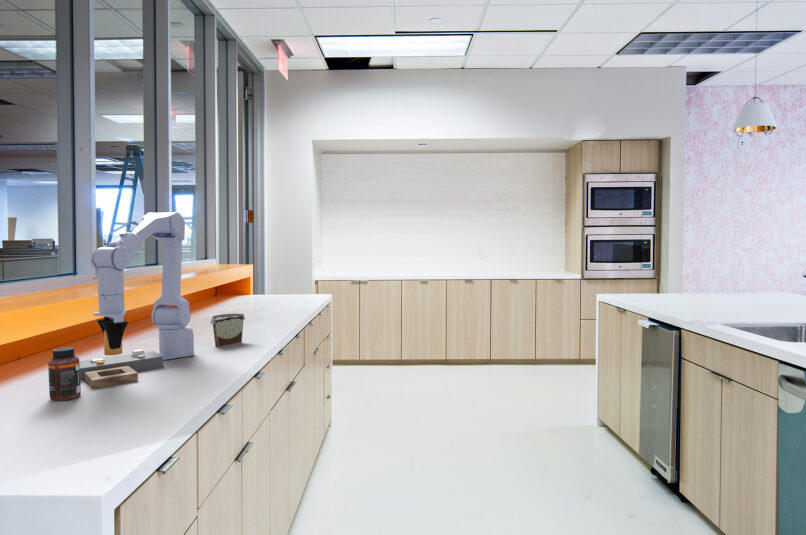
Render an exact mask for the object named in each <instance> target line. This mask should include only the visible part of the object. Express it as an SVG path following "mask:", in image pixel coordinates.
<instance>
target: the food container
mask: <svg viewBox="0 0 806 535" xmlns="http://www.w3.org/2000/svg"><path fill="white" fill-rule="evenodd" d="M245 320H246V318H245V314H244V313H222V314H217V315H215V314H214V315H212V317H211V319H210V325H212V330H213V338H214V339H213V340H214V346H215V347H216V348H217V349H218V348H222V347H223V348H224V347H227V346H228V347H229V346H233V345H238V343H239V344H242V343H243V334H244V333H243V332H244V331H243V330H244V329H243V328H244V321H245Z"/></svg>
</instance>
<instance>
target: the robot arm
mask: <svg viewBox="0 0 806 535" xmlns="http://www.w3.org/2000/svg"><path fill="white" fill-rule="evenodd" d="M141 220H142V221H141V222H140V223H139V224H138V225H137V226H136V227H135V228H134V229H133V230H131V232H130V231H122V232H119V234H118V235H119V236H117V237H116V238H115V239H114V240H113V241H110V242H108V244H107V245H106V246H104V247H103V246H102V247H98V248H97V249H95V250H94V252H93V253H92V256H91V257H92V258H90V262H91V265H92V267H93V269H94V274H95V276H96V277H97V294H98V295H97V296H98V297H97V298H98V299H97V300H98V311H97V312H96V311H95V312H92V314H93V316H94V317H103V318H100V319H96V322H97V323H98V325H99V327H100V329H101V332H102V336H103V337H104V331H106V333H107V337H108V343H109V347H110V349H118V348H120V346H121V342H122V343H123V338H124V333H125V330H126V328H127V327H128V324H129V321H128V320H124V316H125V315H126V314H127V312H126V310H125V309H126V308H125V307H126V306H125V281H124V280H125V278H124V276H125V274H124V269H127V267H128V265H129V262H130V259H131V257H132V256H134V254H135V253H137V252H138V251H140V249H141V248H142V242H143V241H145V240H146V239H147V238H149V237H151V236H152V237H153V238H154V239H155V240H156V241H159V242H160V243H161V244H162V246H163V249H162V280H161V282H162V285H161V296H160V297H159V298H158V299H156V300H155V301H154V302H153V310H152V312H151V321H152V323H153V325H154V326H155V327H156V329H158V344H159V345H158V346H159V348H158V351H159V353H158V354H160V355H161V356H163V361H165V360H170V359H171V360H172V359H178V358H187V357H192V356H195V355H196V354H195V346H194V345H195V341H194V340H195V338H194V331H193V328H192V326H190V325H189V323H190V321H191V316H192V315H191V313H192V312H191V311H190V302H189V301H188V300H187V299H185V298H184V297H183V296H181V295H182V294H181V292H182V291H181V288H182V287H181V286H182V258H183V257H182V255H183V241H184V240H185V233H186V232H185V231H186V229H185V228H186V221H185V219H184V217H183V216H182V214H181V213H179V212H178V211H174V212H147V213H146V214H145V215H143V216H142V219H141Z"/></svg>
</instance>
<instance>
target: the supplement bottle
mask: <svg viewBox="0 0 806 535" xmlns="http://www.w3.org/2000/svg"><path fill="white" fill-rule="evenodd" d="M52 356H53V357H51V359H50V360H48V362H47V367H48V368H47V369H48V370H47V371H48V388H49V392H48V393H49V399H50V400H51V401H54V402H64V401H69V400H72V399H76V398H78V397H80V396H81V394H82V390H81V389H82V388H81V380H80V363H79V361H80V357H78V356H76V355H75V348H74V347H72V346H71V347H70V346H69V347H68V346H67V347H59V348H55V349H53V350H52Z"/></svg>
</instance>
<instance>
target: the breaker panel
mask: <svg viewBox="0 0 806 535" xmlns="http://www.w3.org/2000/svg"><path fill="white" fill-rule="evenodd" d="M101 358H102V359H103V360H104V361H97V362H96V363H92V359H87V360H86V359H85V360H79V363H80V381H82V380H85V372H89V371H95V370H102V369H108V368H115V367H122V366H129V367H131V368H132V369H133V370H134V371H136V372H140V371H145V370H146V371H147V370H153V369H158V368H163V367H164V360H163V356H161V355H160V354H159V353H158V352H156V351H154V350H151V351H144V355H139V356H138V357H134V358H133V357H132V353H129V354H120V355H113V356H108V357H101Z"/></svg>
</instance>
